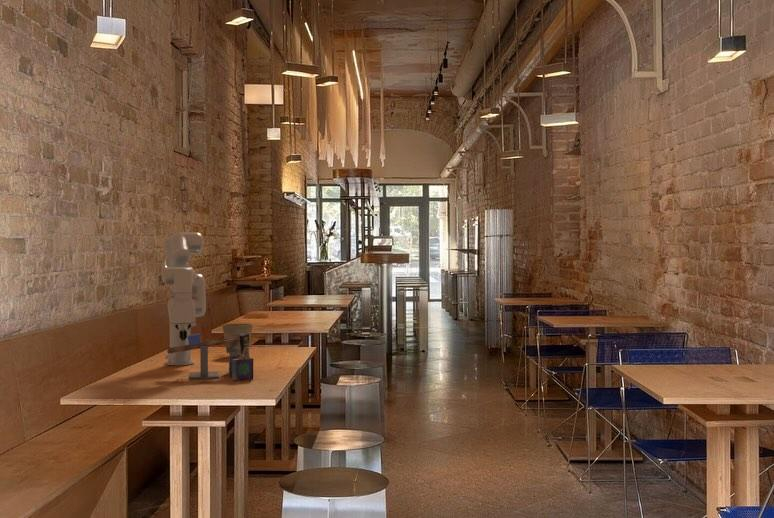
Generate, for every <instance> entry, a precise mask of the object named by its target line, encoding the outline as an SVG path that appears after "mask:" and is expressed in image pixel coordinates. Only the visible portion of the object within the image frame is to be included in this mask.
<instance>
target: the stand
mask: <svg viewBox="0 0 774 518" xmlns="http://www.w3.org/2000/svg"><path fill="white" fill-rule="evenodd" d="M208 348H209V347H208V346H200V348H199V349H200V351H199V353H200V355H199V356H200V358H199V360H200V367H199V369H200V371H194V372H193V371H192V372H189V380H190V381H194V380H219V379H220V374H219V371H218V370H217V371H209V349H208ZM233 359H236V355H233V356H229V355H228V376H229V377H232V360H233Z"/></svg>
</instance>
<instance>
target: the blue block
mask: <svg viewBox="0 0 774 518" xmlns="http://www.w3.org/2000/svg"><path fill="white" fill-rule="evenodd" d="M188 342H189V346H195V345H201V343H202V341H201V334H200V333H199V332H198V333H193V334H191V335H188Z"/></svg>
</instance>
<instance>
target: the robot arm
mask: <svg viewBox="0 0 774 518" xmlns="http://www.w3.org/2000/svg"><path fill="white" fill-rule="evenodd" d="M163 245H164V251H165V255H166V257H165V258H164V259H163V261H162V263H161V281H162V282H163V283H164V284H165V285H170V290H171V292H172V294H170V295H169V296H170V299H169V300H168V301H167V312H168V319H169V320H168V321H169V348H172V347H178V346H184V345H189V342H188V335H192V334H191V328H193V327H195V326H197V323H196V317H197V318H198V317H203V316H205V315H206V310H207V300H206V298H207V297H206V296H207V295H206V292H207V291H206V280H205V276H204V275H202V274H200V273H196V270H195V269H194V268H193V267H191V266H190V264H189V262H190V260H191V258H192V255H199V254H201V253H202V252H203V250H204V247H205V246H204V245H205V241H204V237H203V235H202V234H201V233H199V232H193V231H192V232H187V231H186V232H185V231H184V232H183V231H182V232H175V234H172V236H169V237H166V238H165V239H164V243H163ZM193 295H195V296H193ZM191 352H192V350H188V351H182V352H176V353H170V354H168V353H167V355H165V357H164V358H165V359H166V360H167V359H168V360H167V361H166V365H168V366H175V367H178V366H189V365H190V366H191V365H193V364H195V360H193V359H192V358H191V355H192V353H191Z"/></svg>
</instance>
